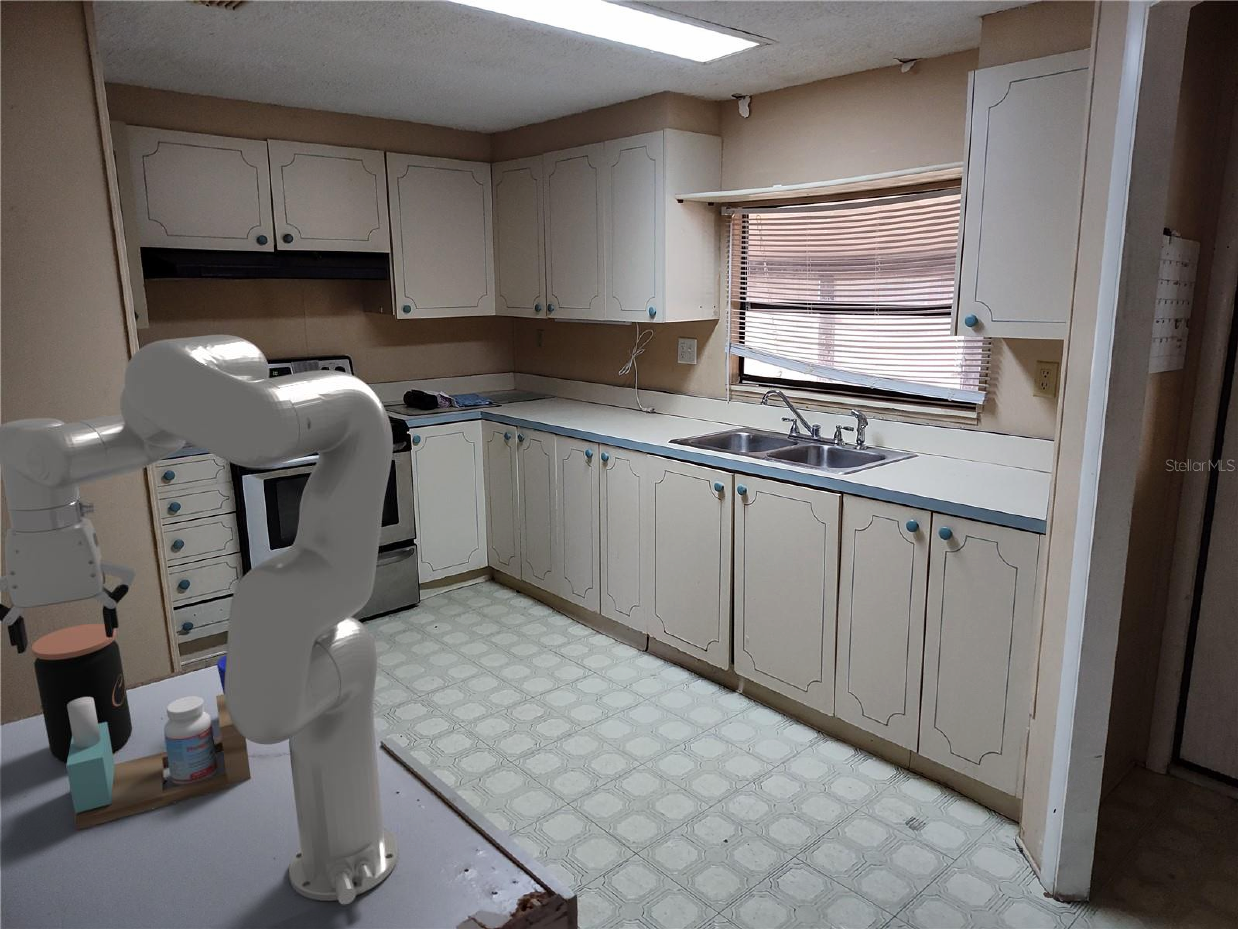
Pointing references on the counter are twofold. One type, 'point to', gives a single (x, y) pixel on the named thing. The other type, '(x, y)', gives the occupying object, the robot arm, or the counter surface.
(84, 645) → the coffee jar
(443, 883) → the counter surface
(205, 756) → the pill bottle
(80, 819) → the wooden tray
